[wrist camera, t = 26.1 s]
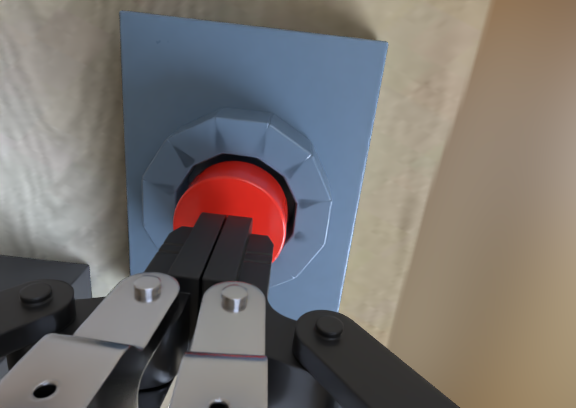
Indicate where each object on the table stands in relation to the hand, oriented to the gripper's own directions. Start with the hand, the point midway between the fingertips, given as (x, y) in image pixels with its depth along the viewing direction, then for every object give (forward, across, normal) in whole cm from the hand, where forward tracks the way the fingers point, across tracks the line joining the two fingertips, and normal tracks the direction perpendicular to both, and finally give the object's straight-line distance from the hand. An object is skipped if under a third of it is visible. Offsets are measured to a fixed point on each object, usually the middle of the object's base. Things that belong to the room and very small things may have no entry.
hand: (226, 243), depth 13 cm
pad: (+6, 0, 0) cm, 6 cm away
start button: (+2, 0, 0) cm, 3 cm away
